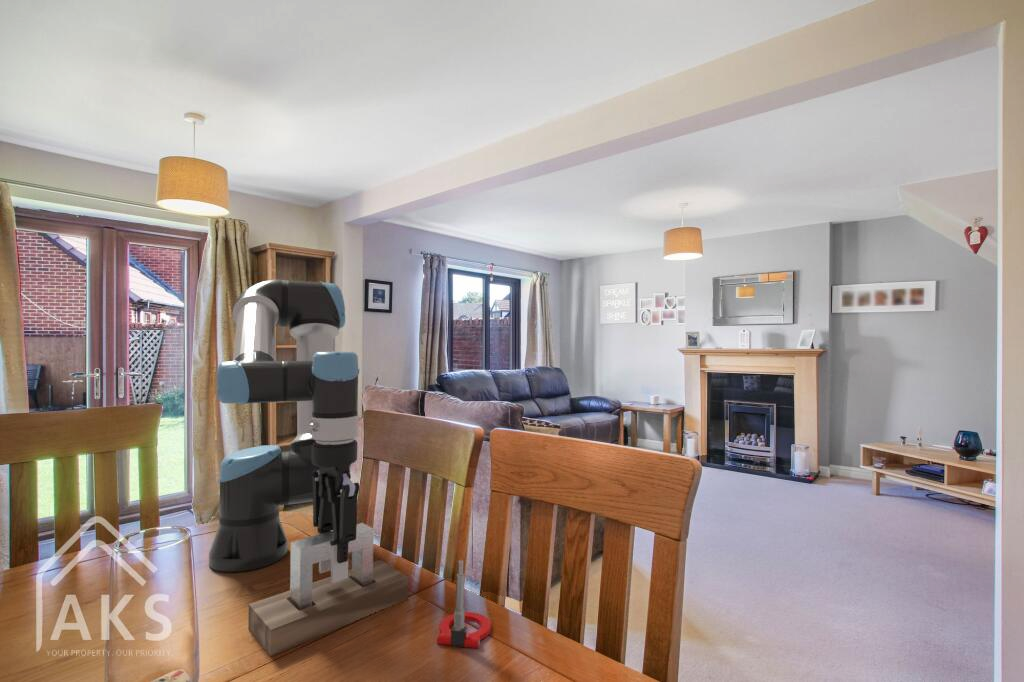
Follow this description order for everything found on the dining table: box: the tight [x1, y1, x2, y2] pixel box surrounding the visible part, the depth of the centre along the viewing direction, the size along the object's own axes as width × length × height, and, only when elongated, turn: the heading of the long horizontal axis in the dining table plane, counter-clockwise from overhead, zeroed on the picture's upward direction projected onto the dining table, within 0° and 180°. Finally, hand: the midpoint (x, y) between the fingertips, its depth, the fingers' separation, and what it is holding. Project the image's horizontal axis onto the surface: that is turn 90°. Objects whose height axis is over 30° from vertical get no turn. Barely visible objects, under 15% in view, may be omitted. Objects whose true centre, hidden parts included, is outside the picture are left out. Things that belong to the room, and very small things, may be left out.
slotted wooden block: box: [247, 559, 409, 657], centre depth 86 cm, size 10×24×4 cm, turn 135°
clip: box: [289, 522, 374, 611], centre depth 86 cm, size 4×13×13 cm, turn 135°
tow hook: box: [436, 560, 492, 649], centre depth 81 cm, size 8×13×9 cm
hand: (333, 574), depth 86 cm, fingers closed on clip, 4 cm apart
